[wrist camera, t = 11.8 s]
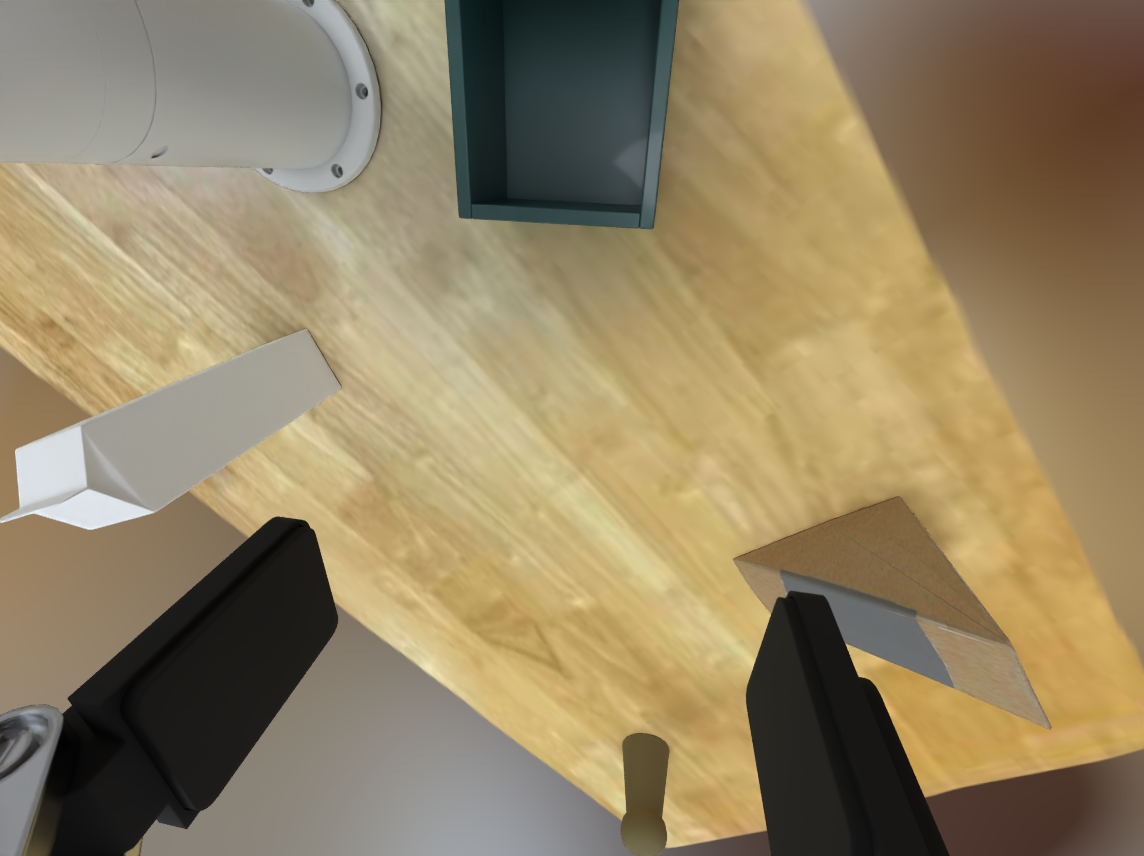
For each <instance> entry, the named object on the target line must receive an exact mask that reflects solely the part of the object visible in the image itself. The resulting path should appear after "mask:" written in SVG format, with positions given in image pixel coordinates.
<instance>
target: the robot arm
mask: <svg viewBox="0 0 1144 856" xmlns="http://www.w3.org/2000/svg"><path fill="white" fill-rule="evenodd" d="M366 90H368V96H367V95H366ZM380 117H381V103H380V92H379V85H378V81H377V77H376V72H375V68H374V65H373V62H372V60H371V57H370V54H369V52H368V49H367V47H366V44H365V43H364V41H363V39H362V37H361V35H360V34H359V32H358V30H357V28H356V26H355V25H354V23H353V22H352V21H351V19H350V18H349V17H348V15H347V14H346V13H345V11H344V10H343V9H342V8H341V6H340V5H339V4H338V3H336V2H335V1H334V0H0V163H66V164H98V165H143V166H189V167H234V168H254V169H255V170H256V171H257V172H259V173H260V174H261V175H262V176H264V177H266V178H267V179H269V180H271V181H272V182H274V183H276V184H277V185H280V186H283V187H285V188H288V189H290V190H294V191H300V192H306V193H318V192H326V191H332V190H336V189H338V188H340V187H342V186H345V185H347V184H348V183H350V182H351V181H352V180H353V179H355V178H356V177H357V176H358V175H359V174H360V173H361V172H362V170H363V169H364V168H365V166H366V165H367V164H368V162H369V160H370V158H371V156H372V153H373V151H374V149H375V147H376V142H377V138H378V134H379V130H380ZM342 170H343V173H342ZM337 624H338V615H337V611H336V607H335V603H334V600H333V596H332V592H331V589H330V585H329V581H328V578H327V574H326V570H325V567H324V563H323V559H322V556H321V552H320V548H319V545H318V541H317V537H316V534H315V532H314V530H313V529H311V528H310V526H309V524H308V523H307V522H306V521H305V520H299V519H292V518H285V517H274V518H272V519H271V520H269V521H268V522H267V523H266V524H264V525H263V526H262V527H261V528H260V529H259V530H258V531H256V532H255V533H254V534H253V535H252V536H251V537H250V538H249V539H247V540H246V541H245V542H244V543H243V544H242V545H241V546H239V547H238V549H236V550H235V551H234V552H233V553H231V554H230V555H229V556H228V557H227V558H226V559H225V560H224V561H222V562H221V563H220V564H219V565H218V566H217V567H216V568H214V569H213V570H212V571H211V572H210V573H209V574H208V575H207V576H205V577H204V578H203V579H202V580H201V581H200V582H199V583H197V584H196V585H195V586H194V587H193V588H192V589H191V590H190V591H188V592H187V593H186V594H185V595H184V596H183V597H182V598H181V599H179V600H178V601H177V602H176V603H175V604H174V605H173V606H171V607H170V608H169V609H168V610H167V611H166V612H165V613H163V614H162V615H161V616H160V617H159V618H158V619H157V620H155V621H154V622H153V623H152V624H151V625H150V626H149V627H148V628H146V629H145V630H144V631H143V632H142V633H141V634H140V635H138V636H137V638H135V639H134V640H133V641H132V642H131V643H130V644H128V645H127V646H126V647H125V648H124V649H123V650H122V651H120V652H119V653H118V654H117V655H116V656H115V657H114V658H112V659H111V660H110V661H109V662H108V663H107V664H106V665H105V666H103V667H102V668H101V669H100V670H99V671H98V672H96V673H95V674H94V675H93V676H92V677H91V678H90V679H89V680H87V681H86V682H85V683H84V684H83V685H82V686H81V687H80V688H78V689H77V690H76V691H75V692H74V693H73V694H72V695H70V696H69V697H68V700H69V702H70V703H71V704H72V706H71V707H70V708H69V709H67V710H66V711H65V712H64V713H63V714H62V713H61V712H60V711H59V709H58V708H56V707H53V706H50V705H47V704H40V705H29V706H25V707H21V708H17V709H13V710H11V711H8V712H6V713H3V714H1V715H0V856H140V853H141V846H142V839H143V836H144V834H145V833H146V832H147V830H148V829H149V828H150V827H151V825H152V824H153V823H154V821H155V820H156V819H157V820H158V822H159V823H163V824H167V825H172V826H176V827H180V828H185V829H187V828H188V827H189V826H190V824H191V823H192V822H193V820H194V819H195V817H196V816H197V815H198V813H199V812H200V811H201V810H204V809H206V808H208V807H209V806H210V805H211V804H212V803H213V802H214V801H215V800H216V798H217V797H218V796H219V794H220V793H221V792H222V790H223V789H224V787H225V786H226V785H227V783H228V782H229V780H230V779H231V777H232V776H233V775H234V773H235V772H236V771H237V769H238V767H239V766H240V765H241V764H242V762H243V761H244V759H245V758H246V756H247V755H248V754H249V752H250V751H251V749H252V748H253V747H254V745H255V744H256V742H257V741H258V740H259V738H260V737H261V735H262V734H263V733H264V731H265V730H266V728H267V727H268V726H269V724H270V723H271V721H272V720H273V718H274V717H275V716H276V714H277V713H278V711H279V710H280V709H281V707H282V705H283V704H284V703H285V702H286V700H287V699H288V697H289V696H290V695H291V693H292V692H293V690H294V689H295V688H296V686H297V685H298V683H299V682H300V680H301V679H302V678H303V676H304V675H305V674H306V672H307V671H308V669H309V668H310V667H311V665H312V663H313V662H314V661H315V659H316V658H317V657H318V655H319V654H320V652H321V651H322V650H323V648H324V646H325V645H326V644H327V643H328V641H329V640H330V638H331V637H332V635H333V634H334V632H335V630H336V628H337ZM746 705H747V712H748V718H749V724H750V730H751V736H752V742H753V748H754V754H755V760H756V766H757V772H758V778H759V784H760V790H761V796H762V802H763V808H764V814H765V820H766V826H767V832H768V838H769V844H770V850H771V856H949V853H948V851H947V849H946V846H945V844H944V842H943V840H942V837H941V835H940V832H939V830H938V828H937V825H936V823H935V821H934V819H933V816H932V814H931V811H930V809H929V807H928V804H927V802H926V800H925V797H924V795H923V793H922V790H921V788H920V786H919V783H918V781H917V779H916V776H915V774H914V772H913V769H912V767H911V765H910V762H909V760H908V758H907V755H906V753H905V751H904V748H903V746H902V744H901V741H900V739H899V737H898V734H897V732H896V730H895V727H894V725H893V723H892V720H891V718H890V716H889V713H888V711H887V709H886V706H885V704H884V702H883V699H882V697H881V695H880V693H879V691H878V689H877V688H876V686H875V685H874V684H873V683H872V682H871V681H870V680H868V679H866V678H862V677H858V675H857V672H856V670H855V667H854V665H853V662H852V660H851V657H850V655H849V652H848V650H847V647H846V645H845V642H844V640H843V637H842V634H841V632H840V629H839V627H838V624H837V622H836V619H835V617H834V614H833V612H832V609H831V607H830V604H829V602H828V600H827V598H826V597H825V596H824V595H819V594H812V593H805V592H798V591H789V592H788V594H787V596H786V598H784V597H778V598H777V600H776V602H775V605H774V608H773V611H772V614H771V617H770V620H769V623H768V626H767V629H766V632H765V635H764V638H763V641H762V644H761V647H760V649H759V652H758V655H757V658H756V661H755V664H754V667H753V670H752V673H751V676H750V679H749V682H748V685H747V691H746Z"/></svg>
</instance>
